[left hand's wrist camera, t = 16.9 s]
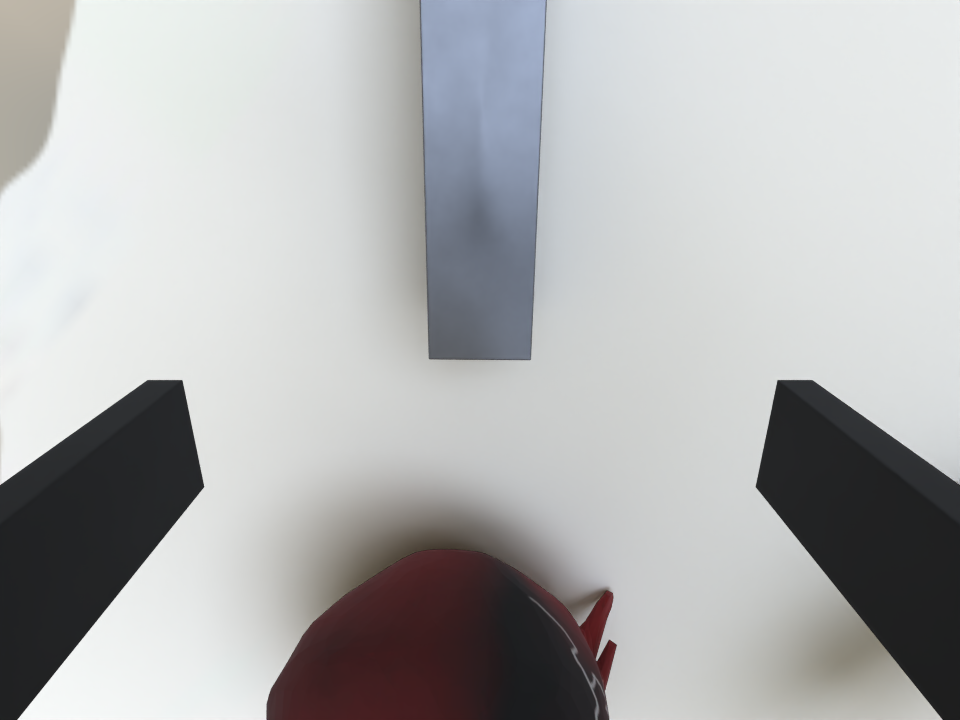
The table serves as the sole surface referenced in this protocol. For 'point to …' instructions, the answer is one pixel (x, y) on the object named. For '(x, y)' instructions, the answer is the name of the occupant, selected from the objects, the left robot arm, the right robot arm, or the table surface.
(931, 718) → the table surface
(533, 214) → the bar
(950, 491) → the left robot arm
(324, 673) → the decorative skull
